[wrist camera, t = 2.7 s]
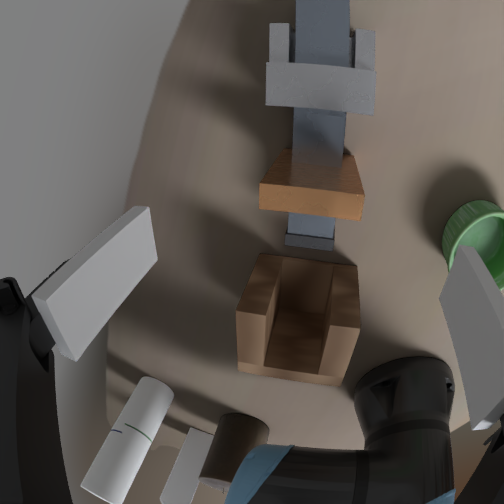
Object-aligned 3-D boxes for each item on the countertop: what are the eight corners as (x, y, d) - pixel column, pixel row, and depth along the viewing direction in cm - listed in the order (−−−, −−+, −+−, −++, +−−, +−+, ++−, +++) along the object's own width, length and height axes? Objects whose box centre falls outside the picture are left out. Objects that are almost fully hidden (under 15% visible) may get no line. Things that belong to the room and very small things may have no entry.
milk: (188, 435, 62) (154, 513, 44) (190, 426, 59) (153, 510, 41) (213, 444, 62) (182, 523, 44) (217, 436, 59) (183, 522, 40)
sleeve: (366, 41, 20) (377, 28, 14) (363, 108, 23) (373, 115, 17) (281, 34, 21) (266, 20, 16) (280, 100, 24) (265, 105, 19)
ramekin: (495, 274, 26) (509, 299, 23) (428, 270, 29) (437, 297, 25) (517, 199, 22) (538, 218, 18) (445, 188, 24) (461, 207, 20)
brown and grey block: (360, 8, 18) (376, -32, 10) (344, 226, 28) (346, 292, 20) (287, 3, 19) (261, -38, 11) (281, 218, 29) (257, 280, 21)
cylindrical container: (134, 374, 53) (71, 480, 32) (164, 378, 50) (102, 497, 30) (151, 396, 56) (97, 497, 35) (180, 401, 53) (128, 511, 33)
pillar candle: (231, 407, 50) (203, 480, 38) (279, 426, 50) (259, 499, 38) (214, 423, 55) (189, 486, 43) (257, 440, 56) (237, 503, 43)
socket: (357, 266, 30) (360, 328, 23) (343, 323, 34) (340, 386, 27) (260, 253, 32) (235, 310, 25) (258, 311, 36) (238, 370, 29)
